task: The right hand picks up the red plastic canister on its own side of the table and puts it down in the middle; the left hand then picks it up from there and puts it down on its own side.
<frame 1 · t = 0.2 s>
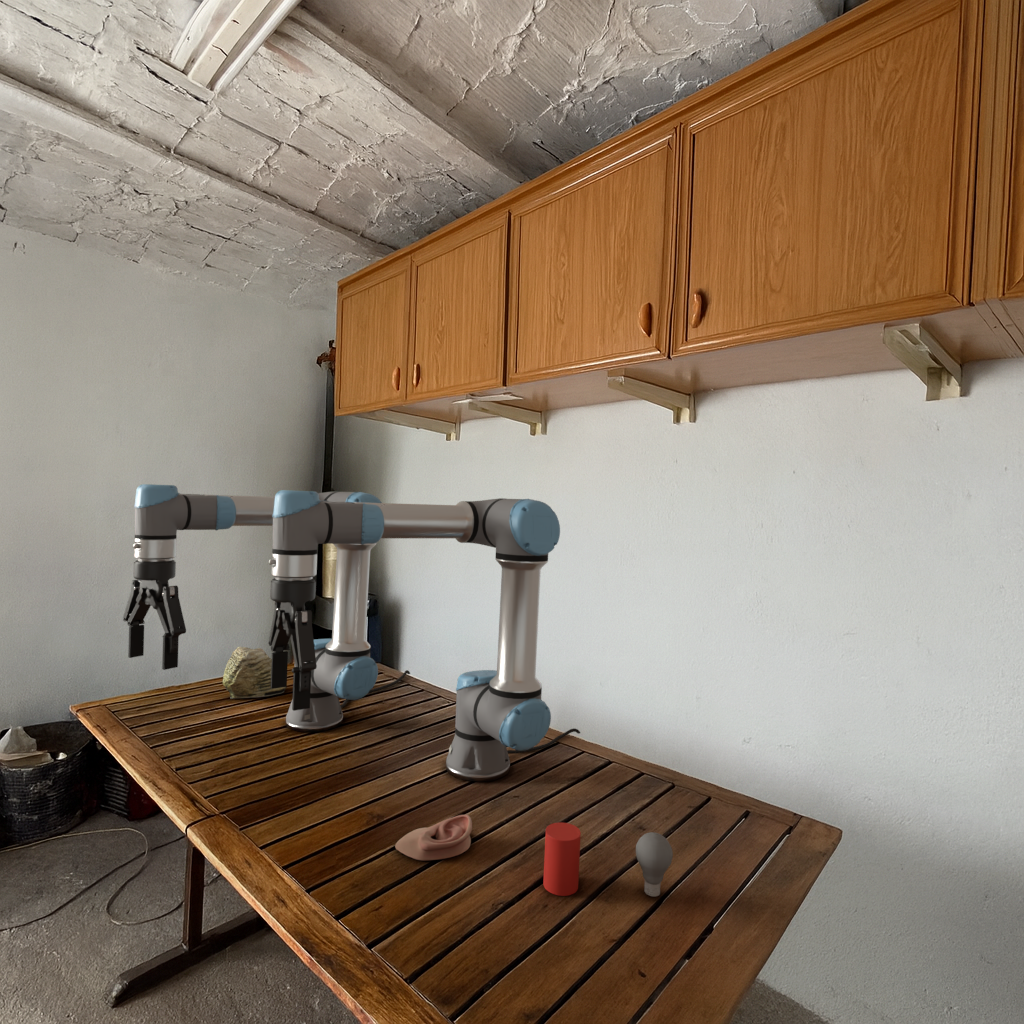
left hand: (152, 662, 130), 28 cm above the table, tool pointing down, fingers open, 13 cm apart
right hand: (289, 697, 112), 28 cm above the table, tool pointing down, fingers open, 13 cm apart
light bulb: (651, 895, 105), on the table
anatomical model: (434, 845, 117), on the table
canister: (560, 885, 107), on the table
fossil: (254, 694, 198), on the table
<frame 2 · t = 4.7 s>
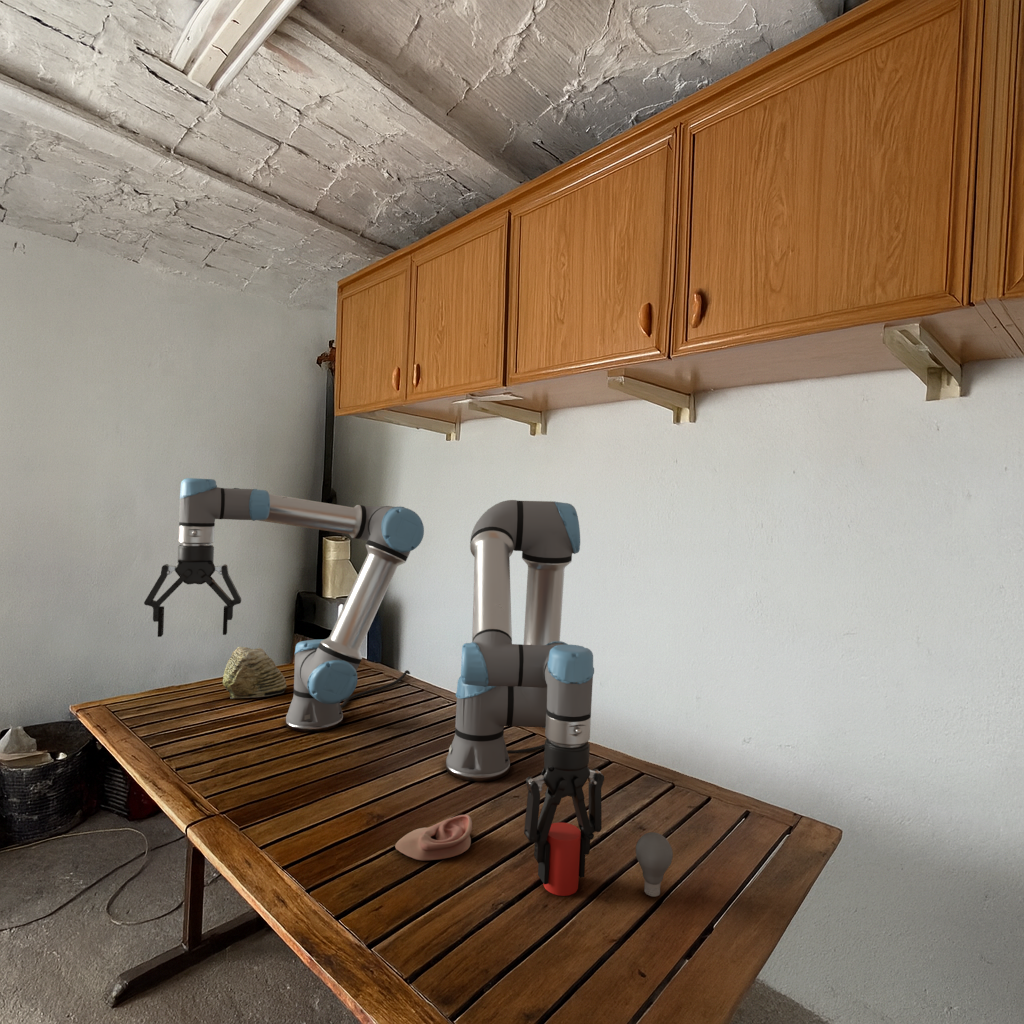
left hand: (193, 634, 148), 30 cm above the table, tool pointing down, fingers open, 13 cm apart
right hand: (561, 875, 107), 2 cm above the table, tool pointing down, fingers closed on canister, 6 cm apart
canister: (560, 885, 107), on the table, touching right hand
everything else where it was.
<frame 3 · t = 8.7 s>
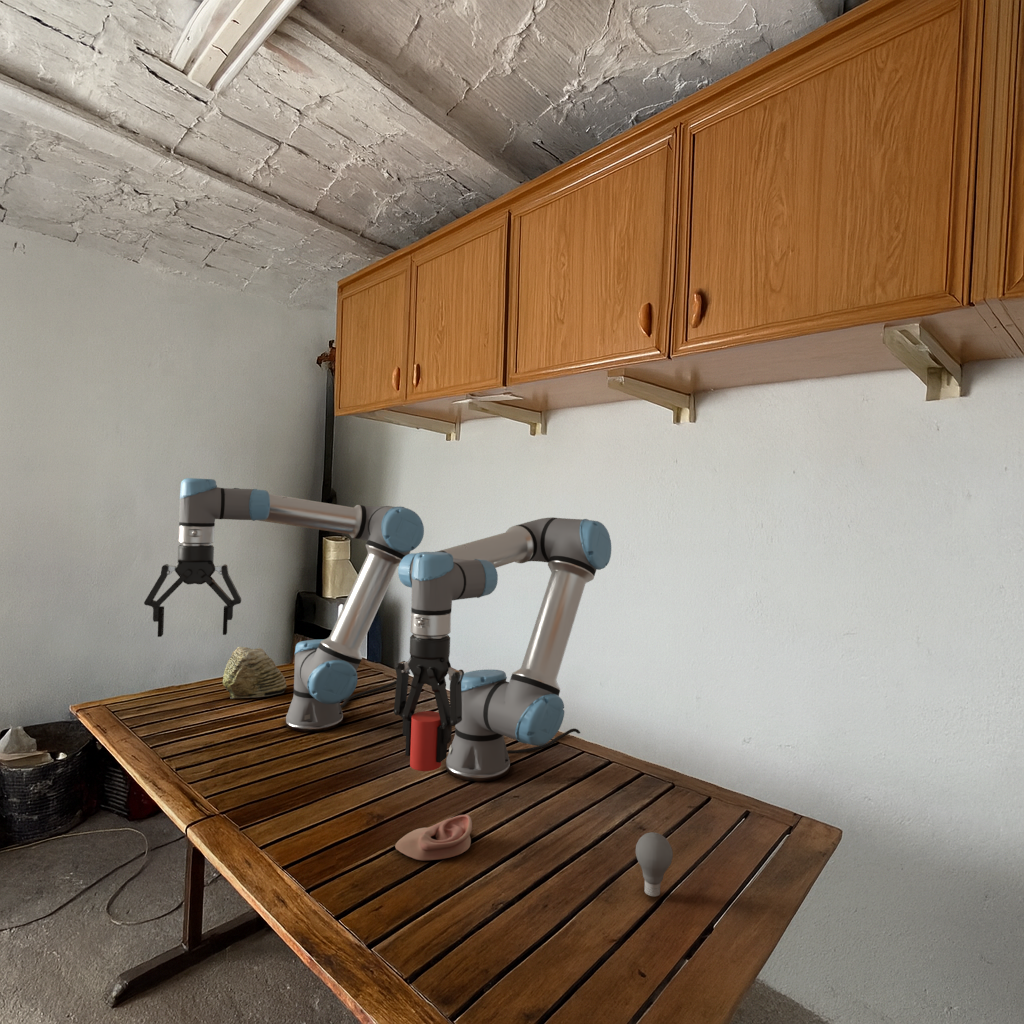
left hand: (193, 634, 148), 30 cm above the table, tool pointing down, fingers open, 13 cm apart
right hand: (425, 756, 120), 15 cm above the table, tool pointing down, fingers closed on canister, 6 cm apart
canister: (425, 764, 120), point 14 cm above the table, touching right hand
everything else where it was.
when the right hand's fingers open (3 cm above the table, at t = 12.8 s): canister drops 2 cm, on the table.
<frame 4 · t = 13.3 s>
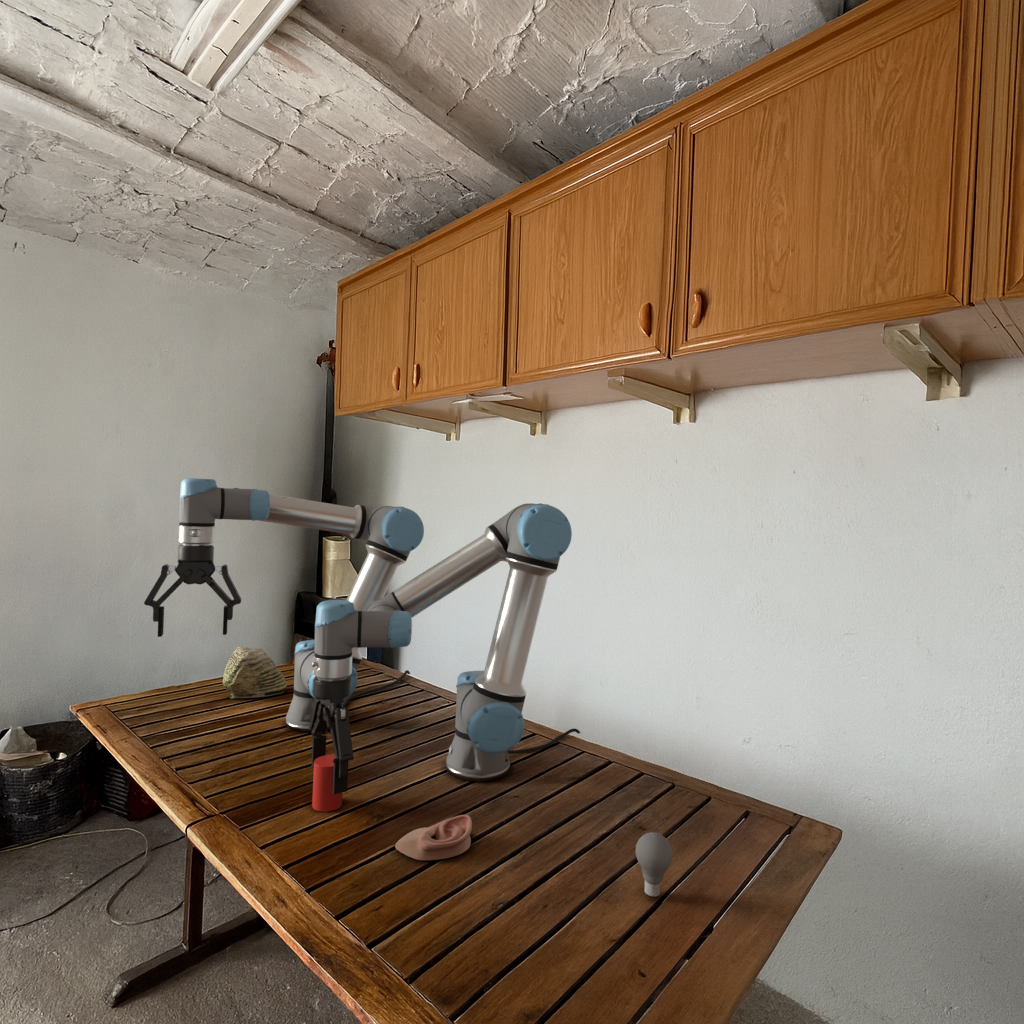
left hand: (193, 634, 148), 30 cm above the table, tool pointing down, fingers open, 13 cm apart
right hand: (328, 779, 131), 5 cm above the table, tool pointing down, fingers open, 13 cm apart
canister: (327, 804, 131), on the table
everything else where it was.
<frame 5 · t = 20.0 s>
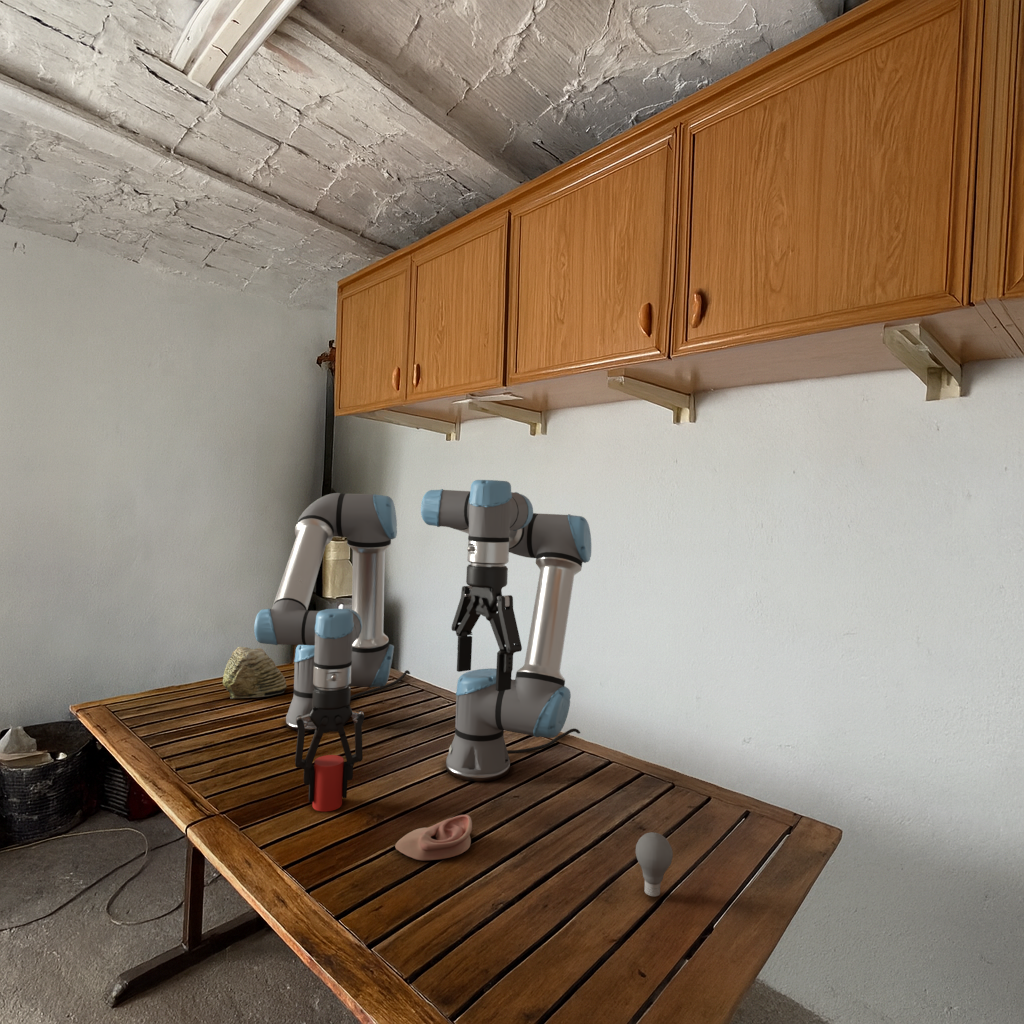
left hand: (327, 796, 131), 2 cm above the table, tool pointing down, fingers closed on canister, 6 cm apart
right hand: (482, 679, 116), 31 cm above the table, tool pointing down, fingers open, 13 cm apart
canister: (327, 804, 131), on the table, touching left hand
everything else where it was.
when the left hand's fingers open (3 cm above the table, at t = 27.5 s): canister drops 2 cm, on the table.
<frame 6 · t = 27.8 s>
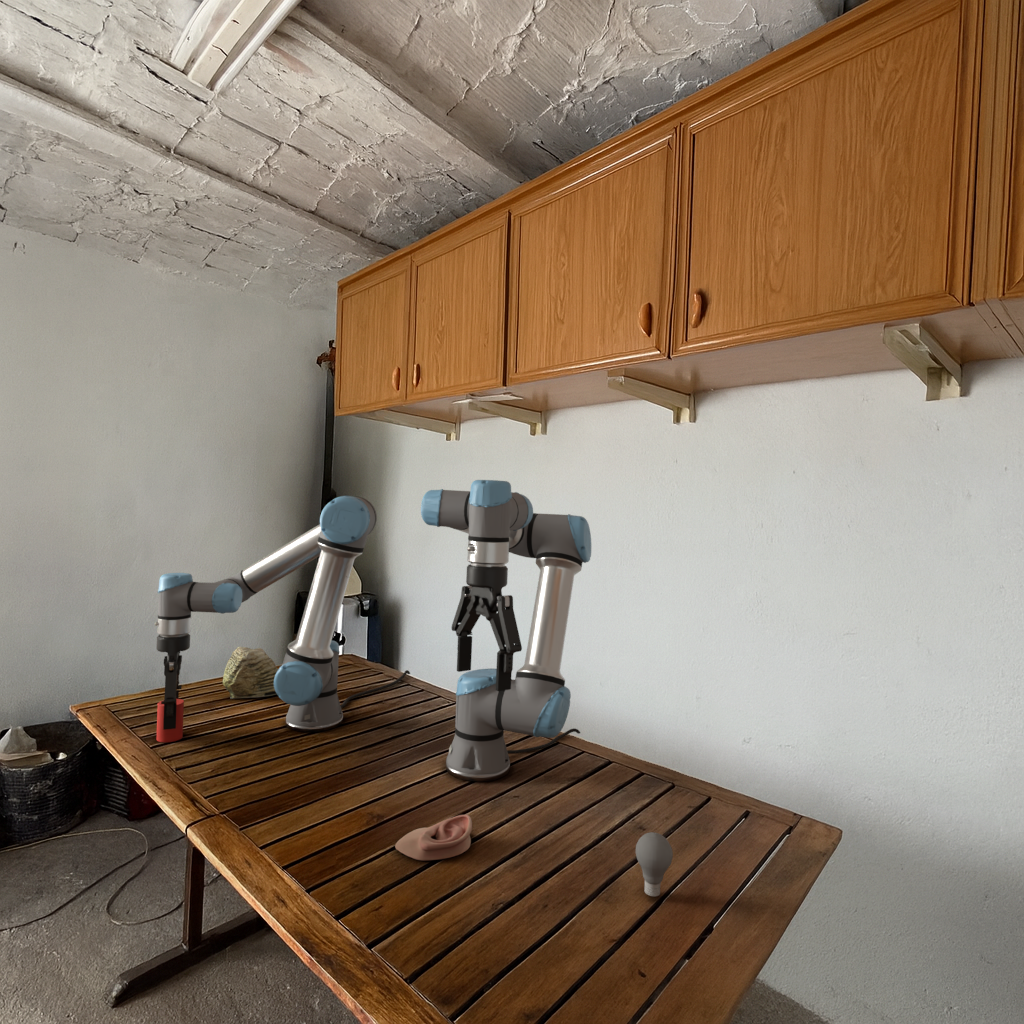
left hand: (170, 721, 161), 4 cm above the table, tool pointing down, fingers open, 9 cm apart
right hand: (482, 679, 116), 31 cm above the table, tool pointing down, fingers open, 13 cm apart
canister: (169, 738, 161), on the table
everything else where it was.
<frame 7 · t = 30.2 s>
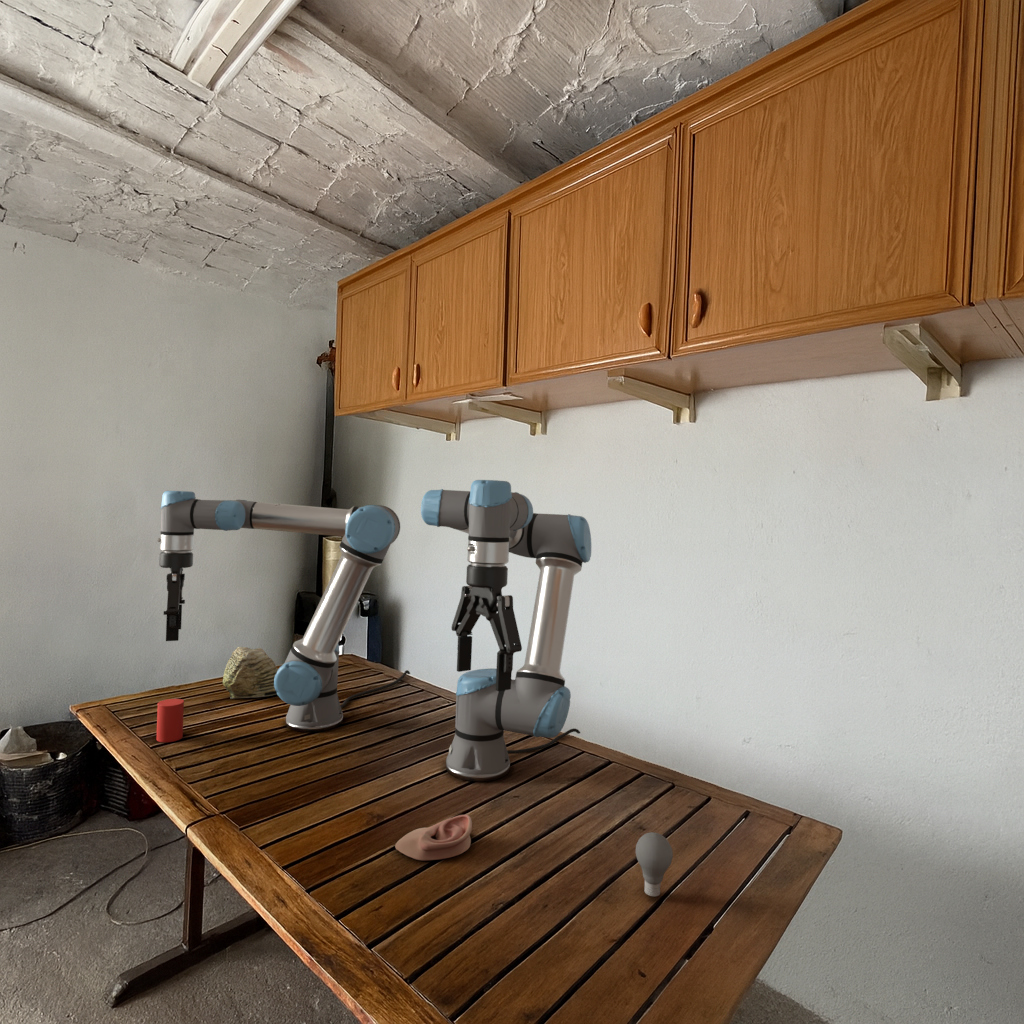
left hand: (173, 634, 161), 26 cm above the table, tool pointing down, fingers open, 13 cm apart
right hand: (482, 679, 116), 31 cm above the table, tool pointing down, fingers open, 13 cm apart
nothing on the table moved.
at the end: canister inside the target area (0.1 cm from its centre), on the table; canister tilted 0°; the two hands never held the canister at the same time; the left hand is holding nothing; the right hand is holding nothing; canister at rest at the end (0.0 cm/s) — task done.
